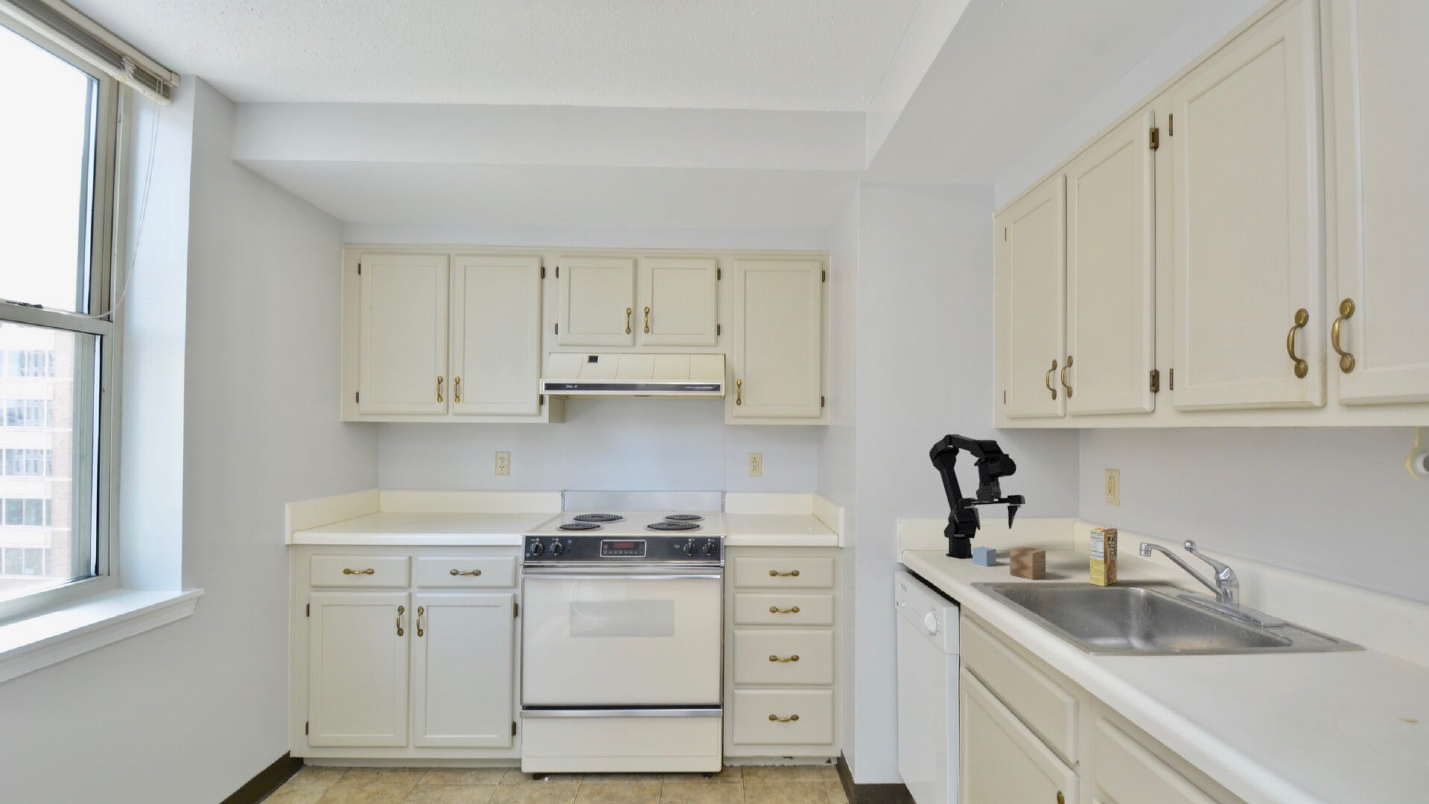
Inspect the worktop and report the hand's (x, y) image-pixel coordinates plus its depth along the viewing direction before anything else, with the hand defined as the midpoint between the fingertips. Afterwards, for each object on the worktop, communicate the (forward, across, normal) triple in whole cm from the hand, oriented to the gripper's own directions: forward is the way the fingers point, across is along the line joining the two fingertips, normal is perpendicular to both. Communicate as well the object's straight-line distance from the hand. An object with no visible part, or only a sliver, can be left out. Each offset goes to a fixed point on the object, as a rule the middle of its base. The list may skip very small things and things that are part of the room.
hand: (994, 529), depth 214 cm
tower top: (+10, +9, -4) cm, 14 cm away
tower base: (+14, +9, -3) cm, 17 cm away
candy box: (+16, +28, +1) cm, 32 cm away
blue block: (+11, -6, +6) cm, 14 cm away
